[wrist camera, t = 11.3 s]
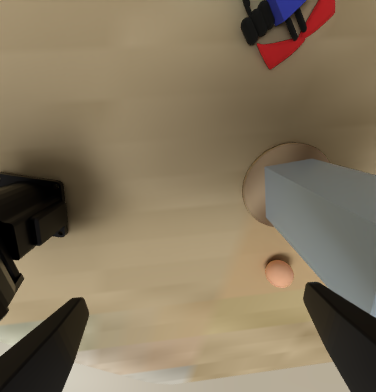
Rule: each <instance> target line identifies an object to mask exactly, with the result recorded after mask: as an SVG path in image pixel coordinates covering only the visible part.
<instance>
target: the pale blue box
mask: <svg viewBox="0 0 376 392" xmlns="http://www.w3.org/2000/svg"><path fill="white" fill-rule="evenodd" d="M264 168H265V204H266V218H267V219H268V220H269V221H270V222H271V223H272V225H273V226H274V227H275V228H276V229H277V230H278V231H279V233H280V234H281V235H282V236H283V237H284V238H285V239H286V240H287V242H288V243H289V244H290V245H291V246H292V247H293V248H294V249H295V251H296V252H297V253H298V254H299V255H300V256H301V257H302V259H303V260H304V261H305V262H306V263H307V264H308V265H309V266H310V268H311V269H312V270H313V271H314V272H315V273H316V274H317V276H318V277H319V278H320V279H321V280H322V281H323V282H324V283H325V285H326V286H327V287H328V288H329V289H330V290H332V291H334V292H335V293H337V294H338V295H340V296H342V297H343V298H345V299H346V300H348V301H350V302H351V303H353V304H354V305H356V306H358V307H359V308H361V309H362V310H364V311H366V312H367V313H369V314H370V315H372V316H374V317H375V318H376V175H374V174H370V173H366V172H362V171H358V170H354V169H350V168H347V167H343V166H339V165H335V164H331V163H327V162H323V161H320V160H316V159H307V160H301V161H295V162H289V163H283V164H277V165H272V166H266V167H264Z"/></svg>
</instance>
